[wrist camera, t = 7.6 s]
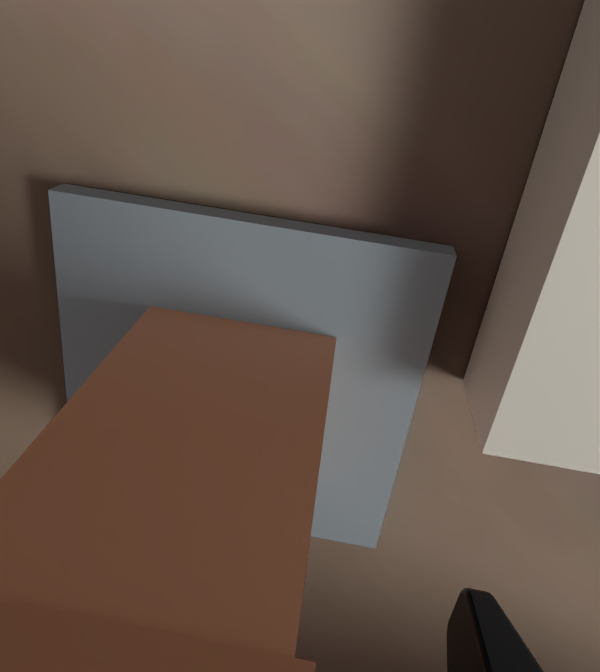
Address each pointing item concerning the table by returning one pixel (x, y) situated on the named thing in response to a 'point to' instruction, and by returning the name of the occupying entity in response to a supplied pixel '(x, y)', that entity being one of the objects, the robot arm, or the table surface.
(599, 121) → the white flat block
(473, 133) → the table surface
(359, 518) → the pad
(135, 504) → the plug
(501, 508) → the table surface
